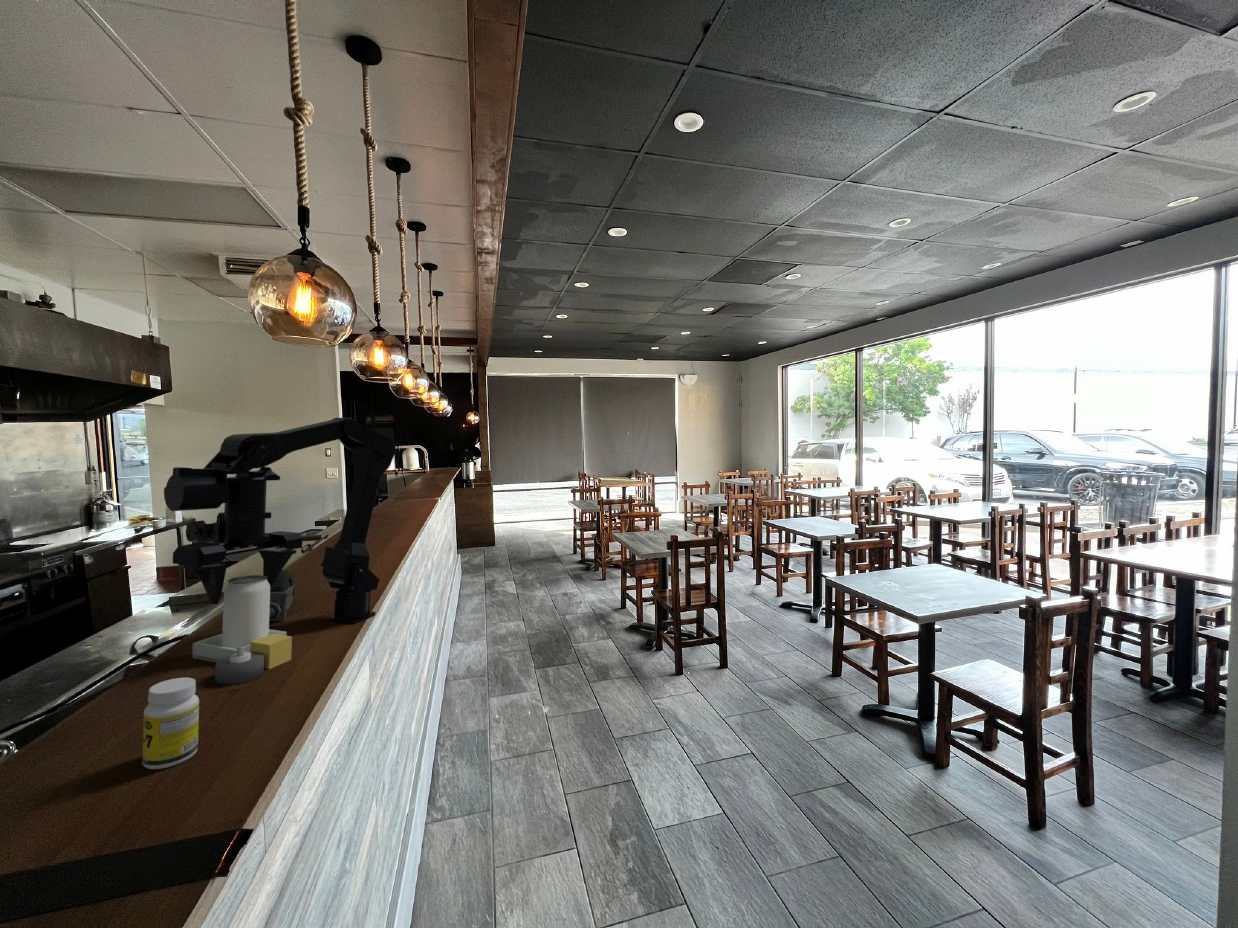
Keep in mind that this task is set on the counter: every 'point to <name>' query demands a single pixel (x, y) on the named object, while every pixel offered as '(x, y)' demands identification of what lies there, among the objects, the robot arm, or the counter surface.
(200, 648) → the tray
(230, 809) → the counter surface
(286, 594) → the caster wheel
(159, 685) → the supplement bottle
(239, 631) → the can
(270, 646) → the yellow cube
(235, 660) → the trolley wheel
